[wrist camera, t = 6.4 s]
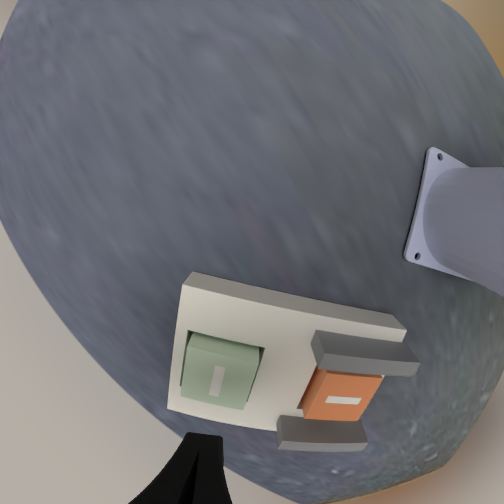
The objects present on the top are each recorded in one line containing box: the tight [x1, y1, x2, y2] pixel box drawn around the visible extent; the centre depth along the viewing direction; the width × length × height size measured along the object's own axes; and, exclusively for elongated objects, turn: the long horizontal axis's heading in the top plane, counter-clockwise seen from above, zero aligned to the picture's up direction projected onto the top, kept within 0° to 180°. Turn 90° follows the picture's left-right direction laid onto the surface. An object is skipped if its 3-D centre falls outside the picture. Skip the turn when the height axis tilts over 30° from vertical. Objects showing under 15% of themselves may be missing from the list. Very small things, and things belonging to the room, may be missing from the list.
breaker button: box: [301, 365, 383, 421], centre depth 16 cm, size 4×4×3 cm
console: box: [167, 271, 421, 452], centre depth 16 cm, size 14×10×5 cm
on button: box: [180, 332, 259, 410], centre depth 16 cm, size 4×4×3 cm
